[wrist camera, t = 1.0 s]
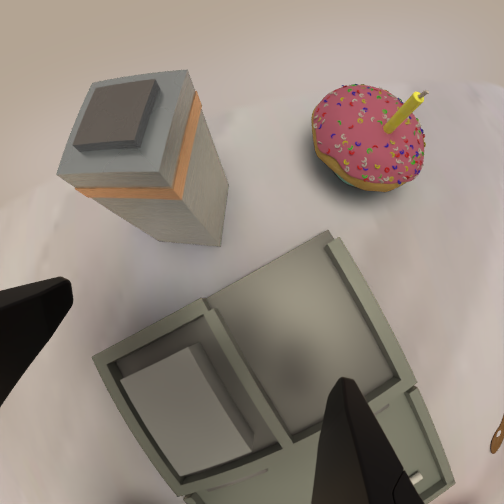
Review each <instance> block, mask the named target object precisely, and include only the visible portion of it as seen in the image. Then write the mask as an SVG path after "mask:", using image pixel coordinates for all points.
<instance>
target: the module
mask: <svg viewBox="0 0 504 504" xmlns="http://www.w3.org/2000/svg"><path fill="white" fill-rule="evenodd" d="M201 108H202V105H201V102H200V99H199V96H198V93H197V91H195V89H194V86H193V84H192V81H191V78H190V75H189V72H188V70H177V71H167V72H158V73H148V74H141V75H134V76H128V77H121V78H116V79H110V80H105V81H100V82H95V83H92V85H91V87H90V89H89V91H88V93H87V95H86V98H85V100H84V102H83V105H82V107H81V109H80V111H79V114H78V116H77V118H76V121H75V124H74V126H73V128H72V131H71V133H70V136H69V139H68V141H67V144H66V147H65V150H64V153H63V156H62V159H61V162H60V165H59V168H58V171H57V174H56V175H57V176H59V177H60V178H62V179H63V180H65V181H66V182H68V183H69V184H71V185H72V186H74V187H75V189H76V190H77V191H79V192H80V193H82V194H83V195H85V196H86V197H88V198H92V199H93V200H95V201H96V202H98V203H99V204H101V205H103V206H104V207H106V208H107V209H109V210H110V211H112V212H113V213H115V214H116V215H118V216H120V217H121V218H123V219H124V220H126V221H127V222H129V223H131V224H132V225H134V226H135V227H137V228H139V229H140V230H142V231H143V232H145V233H147V234H148V235H150V236H151V237H153V238H155V239H156V240H158V241H162V242H173V243H184V244H196V245H207V246H218V247H221V239H222V231H223V223H224V216H225V208H226V201H227V194H228V187H229V184H228V182H227V179H226V176H225V173H224V170H223V168H222V165H221V162H220V159H219V156H218V154H217V151H216V148H215V145H214V142H213V140H212V137H211V134H210V131H209V128H208V126H207V123H206V120H205V117H204V114H203V112H202V109H201Z"/></svg>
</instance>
